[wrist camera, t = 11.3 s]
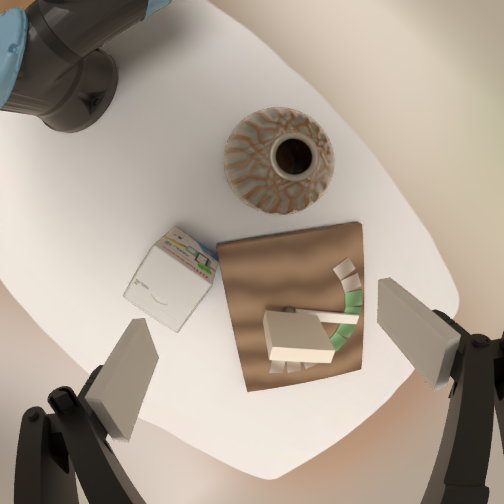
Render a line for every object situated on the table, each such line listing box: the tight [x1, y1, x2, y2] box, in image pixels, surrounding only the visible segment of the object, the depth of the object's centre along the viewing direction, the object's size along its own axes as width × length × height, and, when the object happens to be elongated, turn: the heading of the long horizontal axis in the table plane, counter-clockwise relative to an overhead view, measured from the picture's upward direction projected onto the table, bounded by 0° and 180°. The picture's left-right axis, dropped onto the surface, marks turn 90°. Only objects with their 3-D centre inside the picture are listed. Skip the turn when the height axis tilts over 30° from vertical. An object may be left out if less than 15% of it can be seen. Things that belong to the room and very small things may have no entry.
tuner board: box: [216, 222, 364, 392], centre depth 46 cm, size 28×22×2 cm
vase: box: [224, 107, 334, 215], centre depth 32 cm, size 13×13×18 cm
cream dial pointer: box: [263, 307, 359, 363], centre depth 39 cm, size 16×2×12 cm, turn 81°
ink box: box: [123, 227, 219, 333], centre depth 38 cm, size 9×8×12 cm
